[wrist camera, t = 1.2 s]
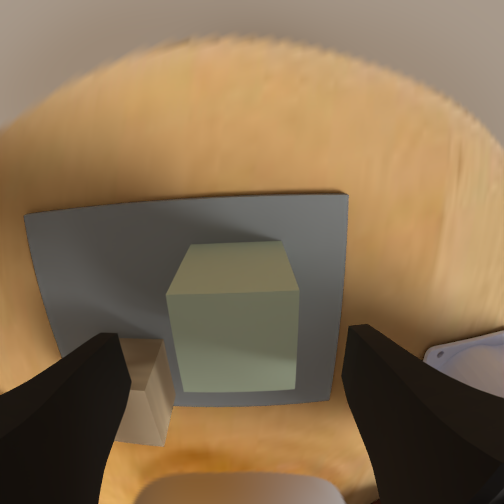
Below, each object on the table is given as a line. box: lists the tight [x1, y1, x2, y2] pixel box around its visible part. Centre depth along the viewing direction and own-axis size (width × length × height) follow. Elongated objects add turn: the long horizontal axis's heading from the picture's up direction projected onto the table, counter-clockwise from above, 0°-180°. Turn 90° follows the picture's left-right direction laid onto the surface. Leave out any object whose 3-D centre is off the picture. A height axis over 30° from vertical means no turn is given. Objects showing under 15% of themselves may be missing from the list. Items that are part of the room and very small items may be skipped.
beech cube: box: [114, 338, 176, 447], centre depth 15 cm, size 4×4×4 cm
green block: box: [166, 241, 300, 392], centre depth 13 cm, size 4×4×5 cm
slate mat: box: [24, 194, 349, 407], centre depth 16 cm, size 16×12×1 cm
